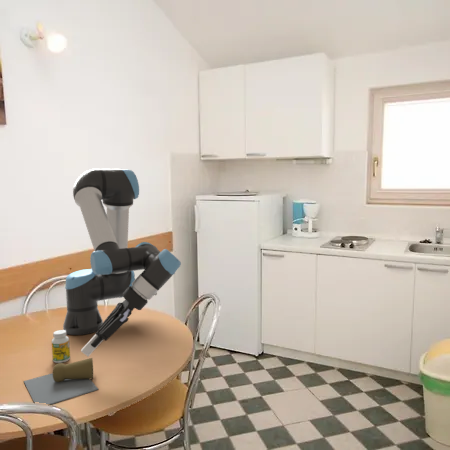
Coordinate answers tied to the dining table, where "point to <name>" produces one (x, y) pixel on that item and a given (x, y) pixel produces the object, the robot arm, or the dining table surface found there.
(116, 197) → the robot arm
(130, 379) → the dining table surface
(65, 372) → the cork
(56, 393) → the mat
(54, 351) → the supplement bottle
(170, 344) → the dining table surface
